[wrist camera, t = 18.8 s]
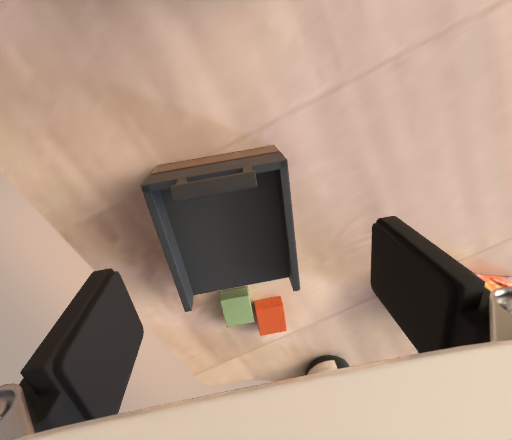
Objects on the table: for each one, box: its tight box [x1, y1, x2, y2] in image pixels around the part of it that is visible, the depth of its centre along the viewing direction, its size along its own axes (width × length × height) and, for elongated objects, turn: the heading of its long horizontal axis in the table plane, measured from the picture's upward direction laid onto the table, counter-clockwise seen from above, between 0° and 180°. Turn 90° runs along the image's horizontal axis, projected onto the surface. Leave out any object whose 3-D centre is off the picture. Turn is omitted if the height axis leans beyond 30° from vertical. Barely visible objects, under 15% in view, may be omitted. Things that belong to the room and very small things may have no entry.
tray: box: [141, 152, 300, 312], centre depth 29 cm, size 16×14×7 cm
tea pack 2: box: [254, 296, 287, 336], centre depth 42 cm, size 5×4×2 cm
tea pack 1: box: [220, 287, 254, 327], centre depth 41 cm, size 5×4×2 cm
